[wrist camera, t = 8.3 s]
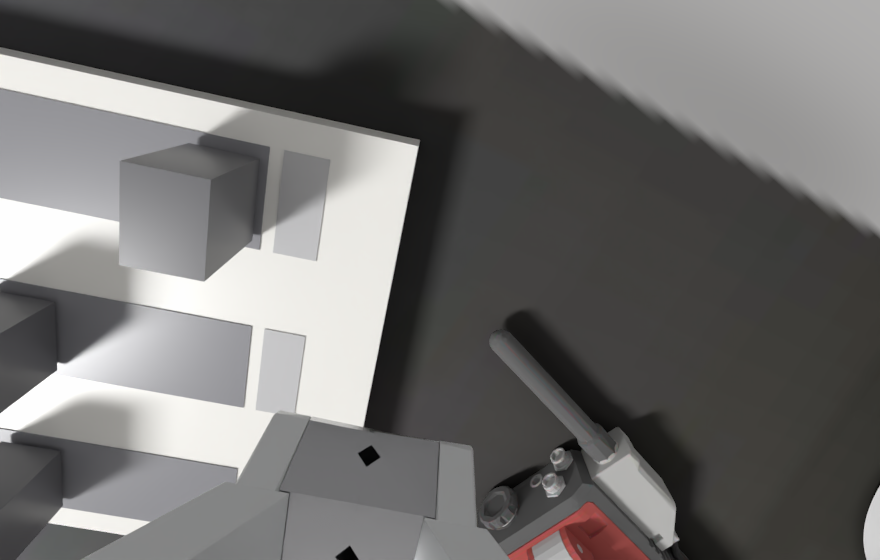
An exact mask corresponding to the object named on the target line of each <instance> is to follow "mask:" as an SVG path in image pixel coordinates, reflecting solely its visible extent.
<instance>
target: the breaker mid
mask: <svg viewBox="0 0 880 560" xmlns="http://www.w3.org/2000/svg"><path fill="white" fill-rule="evenodd" d="M55 371H57V350H56V326H55V302H52V301H46V300H41V299H36V298H30V297H25V296H20V295H14V294H9V293H4V292H0V413H2V412H3V411H4V410H6V409H7V408H8V407H9V406H11V405H12V404H13V403H15V402H16V401H17V400H19V399H20V398H21V397H23V396H24V395H25V394H27V393H28V392H29V391H31V390H32V389H33V388H34V387H36V386H37V385H38V384H40V383H41V382H42V381H44V380H45V379H46V378H48V377H49V376H50V375H52V374H53V373H54V372H55Z"/></svg>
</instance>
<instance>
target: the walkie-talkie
mask: <svg viewBox="0 0 880 560" xmlns="http://www.w3.org/2000/svg"><path fill="white" fill-rule="evenodd" d="M489 343H490V346H491V348H492V349H493V351H494V352H495V353H496V354H497V355H498V356H499V357H500V358H501V359H502V360H503V361H504V362H505V363H506V364H507V365H508V366H509V367H510V368H511V369H512V370H513V371H514V372H515V374H516V375H517V376H518V377H519V378H520V379H521V380H522V381H523V382H524V383H525V384H526V385H527V386H528V387H529V388H530V389H531V390H532V391H533V392H534V393H535V394H536V396H537V397H538V398H539V399H540V400H541V401H542V402H543V403H544V404H545V405H546V406H547V407H548V408H549V409H550V410H551V411H552V412H553V413H554V414H555V415H556V416H557V418H558V419H559V420H560V421H561V422H562V423H563V424H564V425H565V426H566V427H567V428H568V429H569V430H570V431H571V432H572V433H573V434H574V435H575V436H576V437H577V441H578V444H579V445H580V446H581V447H582V448H583V449H582V450H581V451H577V450H569V451H565V450H564V449H563V448H557V449H555V450H554V451H553V452H552V453H551V455H550V459H551V463H550V464H548V465H547V466H545V467H544V468H542V469H541V470H539V471H538V472H537V473H535V474H534V475H532V476H531V477H529V478H528V479H526V480H525V481H523V482H522V483H520V484H519V485H517V486H516V487H514V488H513V489H512V488H510V487H509V486H499V487H497V488H495V489H493V490H492V491H490V492H489V494H488V495H487V496H486V498H485V499H484V500H483V502H482V504H481V507H480V511H479V512H477V514H478V526H479V528H483V529H487V530H488V531H489V533H490V534H491V535H492V536H493V538H494V539H495V540H496V542H497V543H498V544H499V546H500V547H501V548H502V549H503V551H504V552H505V553H506V555H507V556H508V557H509V559H510V560H689V559H688V558H687V557H686V556H685V554H684V553H683V552H682V551H681V550H680V549H679V548H678V542H677V541H678V540H679V538H678V536H677V534H676V532H675V530H674V527H675V516H676V505H675V502H674V500H673V498H672V496H671V495H670V493H669V491H668V489H667V487H666V486H665V484H664V482H663V480H662V478H661V477H660V476H659V475H658V474H657V473H656V472H655V471H654V470H653V468H652V467H651V466H650V465H649V464H648V463H647V462H646V461H645V460H644V459H643V457H642V456H641V455H640V454H639V453H638V452H637V451H636V450H635V449H634V447H633V445H632V443H631V442H630V440H629V438H628V436H627V435H626V434H625V433H624V432H623V431H622V430H621V429H620V428H619V427H616V428H614V429H613V430H611V431H610V432H608V433H607V432H606V431H605V430H604V429H603V427H602V426H601V425H599V424H598V423H594V422H593V421H592V420H591V419H590V418H589V417H588V416H587V415H586V414H585V413H584V412H583V411H582V409H581V408H580V407H579V406H578V405H577V404H576V403H575V402H574V401H573V400H572V399H571V398H570V397H569V395H568V394H567V393H566V392H565V391H564V390H563V389H562V388H561V387H560V386H559V385H558V384H557V383H556V382H555V380H554V379H553V378H552V377H551V376H550V375H549V374H548V373H547V372H546V371H545V370H544V369H543V368H542V367H541V365H540V364H539V363H538V362H537V361H536V360H535V359H534V358H533V357H532V356H531V355H530V354H529V353H528V352H527V350H526V349H525V348H524V347H523V346H522V345H521V344H520V343H519V342H518V341H517V340H516V339H515V338H514V337H513V336H512V334H511V333H510V332H508V331H505V330H496V331H495V332H493V334H492V335H491V337H490V340H489Z"/></svg>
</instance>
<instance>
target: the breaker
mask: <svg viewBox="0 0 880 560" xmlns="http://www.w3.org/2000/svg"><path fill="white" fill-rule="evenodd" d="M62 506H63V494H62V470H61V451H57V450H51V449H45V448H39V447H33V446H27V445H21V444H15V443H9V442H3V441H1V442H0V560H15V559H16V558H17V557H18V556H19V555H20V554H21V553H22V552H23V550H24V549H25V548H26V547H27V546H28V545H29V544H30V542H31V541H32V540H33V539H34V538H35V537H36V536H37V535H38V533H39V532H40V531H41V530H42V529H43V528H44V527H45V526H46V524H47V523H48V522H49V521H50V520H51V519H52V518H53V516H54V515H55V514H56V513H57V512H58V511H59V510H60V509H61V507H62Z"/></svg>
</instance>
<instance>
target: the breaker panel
mask: <svg viewBox="0 0 880 560" xmlns="http://www.w3.org/2000/svg"><path fill="white" fill-rule="evenodd" d="M187 143H192V144H196V145H201V146H206V147H210V148H215V149H220V150H224V151H229V152H234V153H238V154H243V155H248V156H252V157H257V158H260V164H259V174H258V185H257V195H256V206H255V216H254V227H253V237H252V241H251V242H250V243H249V244H248V245H246V246H245V247H244V248H243V249H242V250H241V251H239V252H238V253H237V254H236V255H235V256H234V257H232V258H231V259H230V260H229V261H228V262H227V263H225V264H224V265H223V266H222V267H221V268H220V269H218V270H217V271H216V272H215V273H214V274H213V275H212V276H210V277H209V278H208V279H207V280H206V281H205V282H203V281H198V280H193V279H188V278H183V277H177V276H172V275H167V274H162V273H157V272H152V271H147V270H142V269H136V268H131V267H126V266H121V265H119V186H120V160H124V159H128V158H132V157H136V156H140V155H144V154H148V153H152V152H156V151H160V150H164V149H167V148H171V147H175V146H179V145H183V144H187ZM419 144H420V140H418V139H414V138H409V137H405V136H400V135H395V134H391V133H386V132H382V131H377V130H373V129H368V128H364V127H359V126H355V125H350V124H346V123H341V122H337V121H332V120H328V119H323V118H319V117H314V116H310V115H305V114H301V113H296V112H292V111H287V110H282V109H278V108H273V107H269V106H264V105H260V104H255V103H251V102H246V101H242V100H237V99H233V98H228V97H224V96H219V95H215V94H210V93H206V92H201V91H197V90H192V89H188V88H183V87H178V86H174V85H169V84H165V83H160V82H156V81H151V80H147V79H142V78H138V77H133V76H129V75H124V74H120V73H115V72H111V71H106V70H102V69H97V68H93V67H88V66H84V65H79V64H75V63H70V62H65V61H61V60H56V59H52V58H47V57H43V56H38V55H34V54H29V53H25V52H20V51H16V50H11V49H7V48H2V47H0V292H4V293H9V294H14V295H20V296H25V297H30V298H36V299H41V300H46V301H52V302H55V326H56V350H57V371H55V372H54V373H53V374H52V375H50V376H49V377H48V378H46V379H45V380H44V381H42V382H41V383H40V384H38V385H37V386H36V387H34V388H33V389H32V390H31V391H29V392H28V393H27V394H25V395H24V396H23V397H21V398H20V399H19V400H17V401H16V402H15V403H13V404H12V405H11V406H9V407H8V408H7V409H6V410H4V411H3V412H2V413H0V442H1V441H3V442H9V443H15V444H21V445H27V446H33V447H39V448H45V449H51V450H57V451H61V470H62V494H63V506H62V507H61V509H60V510H59V511H58V512H57V513H56V514H55V515H54V516H53V518H52V519H51V520H50V521H49V522H48V523H52V524H59V525H65V526H71V527H78V528H84V529H90V530H96V531H103V532H109V533H115V534H122V535H127V534H129V533H131V532H133V531H135V530H136V529H138V528H140V527H142V526H144V525H146V524H148V523H149V522H151V521H153V520H155V519H157V518H159V517H161V516H162V515H164V514H166V513H168V512H170V511H172V510H174V509H175V508H177V507H179V506H181V505H183V504H185V503H186V502H188V501H190V500H192V499H194V498H196V497H198V496H199V495H201V494H203V493H205V492H207V491H209V490H211V489H212V488H214V487H216V486H218V485H220V484H222V483H224V482H229V483H235V484H236V482H237V480H238V478H239V476H240V475H241V473H242V471H243V469H244V467H245V466H246V464H247V462H248V460H249V458H250V457H251V455H252V453H253V451H254V449H255V448H256V446H257V444H258V442H259V440H260V439H261V437H262V435H263V433H264V431H265V430H266V428H267V426H268V424H269V422H270V421H271V419H272V417H273V415H274V414H276V413H277V412H278V411H279V410H281V411H286V412H292V413H297V414H302V415H307V416H310V417H311V418H312V417H318V418H322V419H327V420H332V421H337V422H341V423H346V424H351V425H356V426H360V427H364V423H365V418H366V413H367V408H368V403H369V398H370V393H371V388H372V382H373V377H374V372H375V367H376V362H377V357H378V352H379V347H380V342H381V337H382V332H383V327H384V322H385V317H386V312H387V306H388V301H389V296H390V291H391V286H392V281H393V276H394V271H395V266H396V261H397V256H398V251H399V246H400V241H401V235H402V230H403V225H404V220H405V215H406V210H407V205H408V200H409V195H410V190H411V185H412V180H413V175H414V170H415V164H416V159H417V154H418V149H419Z"/></svg>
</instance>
